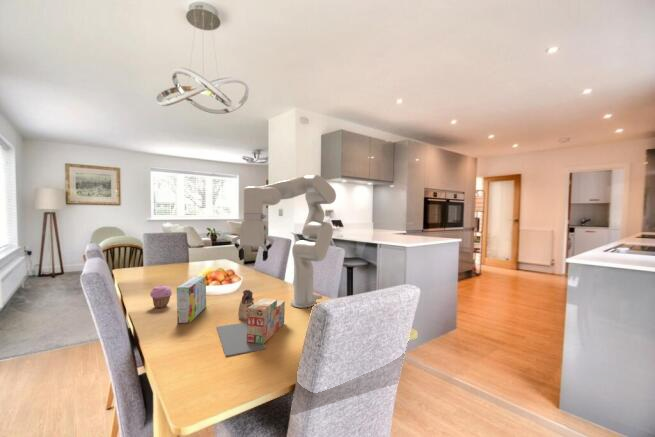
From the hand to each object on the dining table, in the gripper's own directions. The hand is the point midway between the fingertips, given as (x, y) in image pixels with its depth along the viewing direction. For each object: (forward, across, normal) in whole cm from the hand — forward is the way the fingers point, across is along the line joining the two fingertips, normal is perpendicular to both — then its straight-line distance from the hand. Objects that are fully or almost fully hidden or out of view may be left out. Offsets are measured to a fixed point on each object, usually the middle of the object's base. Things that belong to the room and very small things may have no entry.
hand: (253, 260), depth 122 cm
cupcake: (+26, +51, -15) cm, 59 cm away
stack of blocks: (+26, -8, +8) cm, 28 cm away
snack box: (+26, +30, -7) cm, 41 cm away
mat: (+26, 0, +13) cm, 29 cm away
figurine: (+26, +6, -7) cm, 28 cm away
